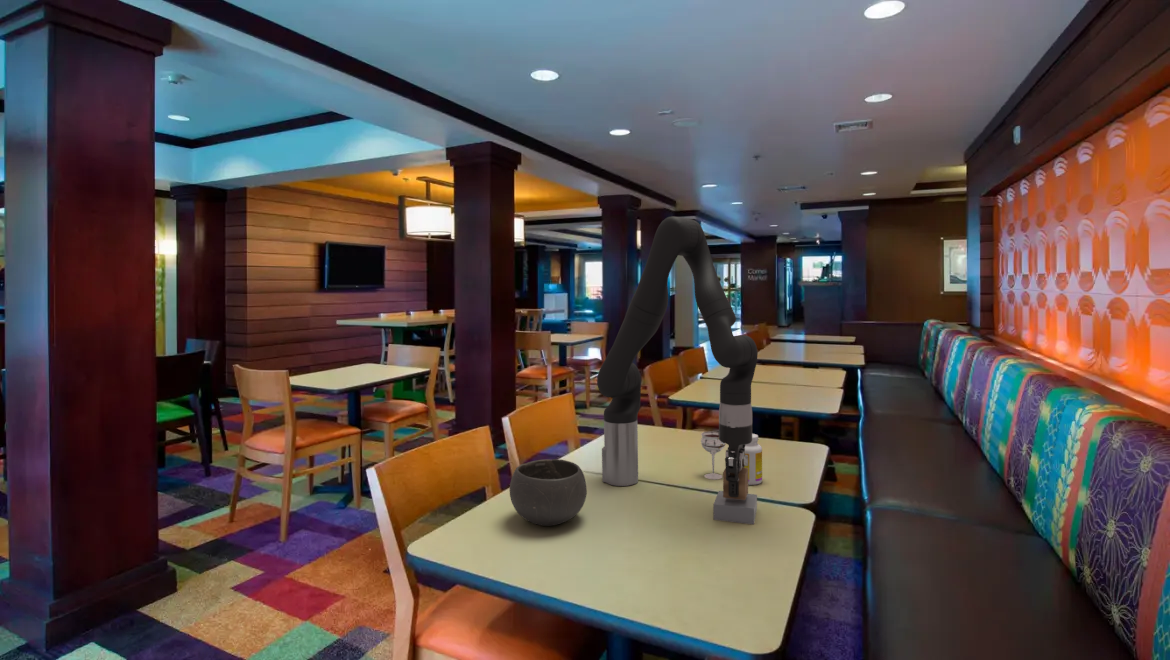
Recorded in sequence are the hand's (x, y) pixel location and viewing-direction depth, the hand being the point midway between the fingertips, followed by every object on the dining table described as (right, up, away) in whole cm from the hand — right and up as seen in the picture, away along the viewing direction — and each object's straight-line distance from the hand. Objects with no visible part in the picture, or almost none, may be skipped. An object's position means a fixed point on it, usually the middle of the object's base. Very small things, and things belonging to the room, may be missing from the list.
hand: (735, 492), depth 140 cm
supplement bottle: (+9, -3, +22) cm, 25 cm away
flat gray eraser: (0, -6, 0) cm, 6 cm away
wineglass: (+1, -3, +27) cm, 27 cm away
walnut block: (0, -1, 0) cm, 1 cm away
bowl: (-44, -7, 0) cm, 44 cm away
